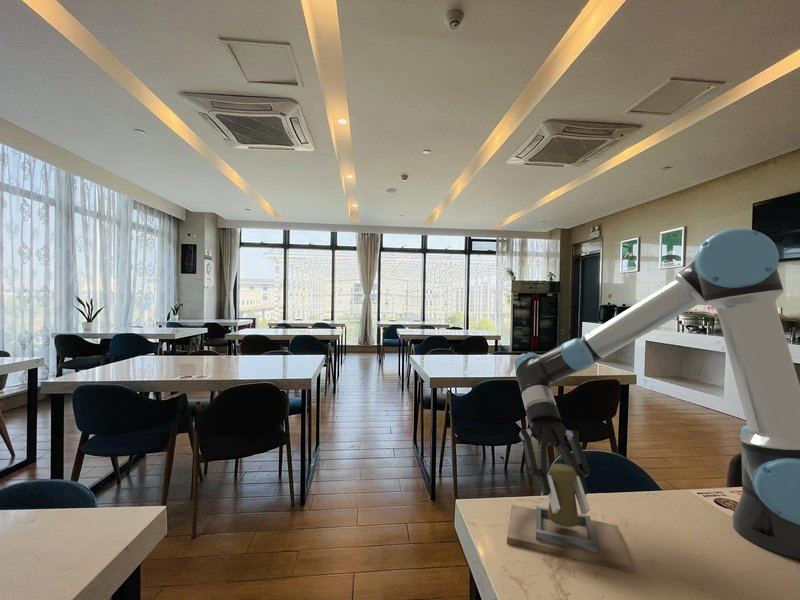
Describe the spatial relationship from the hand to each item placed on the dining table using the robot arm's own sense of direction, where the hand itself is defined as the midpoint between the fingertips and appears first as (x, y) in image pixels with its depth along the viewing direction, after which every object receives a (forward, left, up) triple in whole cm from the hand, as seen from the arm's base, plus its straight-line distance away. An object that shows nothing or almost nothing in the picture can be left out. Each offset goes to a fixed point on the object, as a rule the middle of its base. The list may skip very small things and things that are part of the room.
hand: (571, 511), depth 73 cm
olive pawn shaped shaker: (+1, -4, -4) cm, 5 cm away
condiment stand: (+1, -3, -7) cm, 8 cm away
